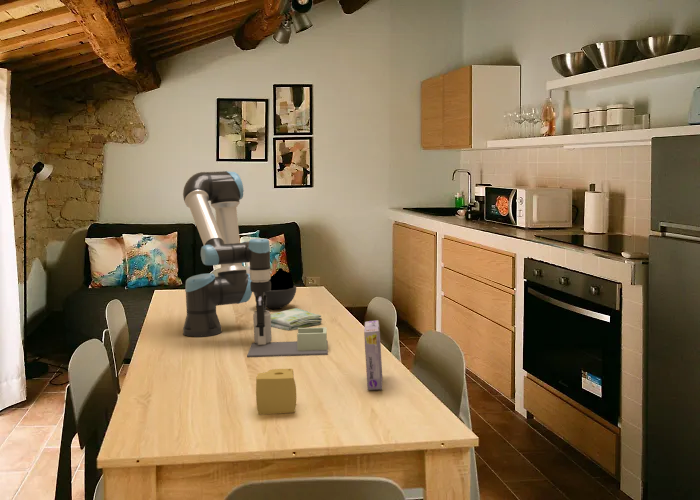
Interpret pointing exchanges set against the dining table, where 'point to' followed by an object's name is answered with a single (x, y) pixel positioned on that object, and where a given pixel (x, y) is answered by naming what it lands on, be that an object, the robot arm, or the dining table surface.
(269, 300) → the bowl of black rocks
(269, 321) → the beverage can
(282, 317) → the towel
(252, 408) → the dining table surface
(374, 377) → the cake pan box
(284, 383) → the cheese
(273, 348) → the mount
